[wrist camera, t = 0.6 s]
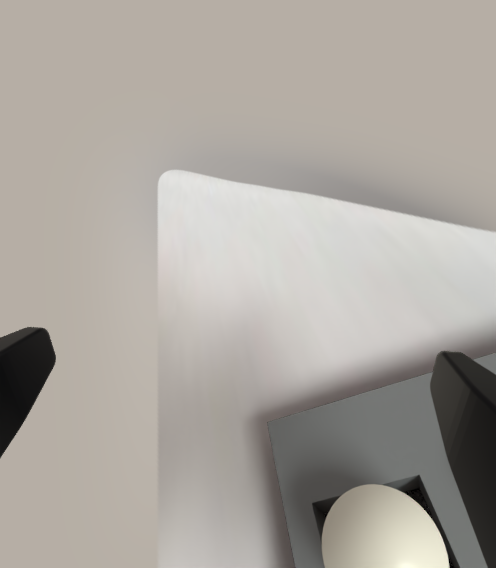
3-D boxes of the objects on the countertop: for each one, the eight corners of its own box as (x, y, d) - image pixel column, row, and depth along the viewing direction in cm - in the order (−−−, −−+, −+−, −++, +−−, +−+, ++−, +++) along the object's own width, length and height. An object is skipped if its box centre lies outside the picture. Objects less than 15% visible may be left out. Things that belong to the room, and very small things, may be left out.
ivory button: (467, 614, 14) (477, 618, 12) (357, 636, 15) (343, 645, 12) (414, 489, 17) (413, 471, 15) (325, 513, 18) (308, 499, 15)
